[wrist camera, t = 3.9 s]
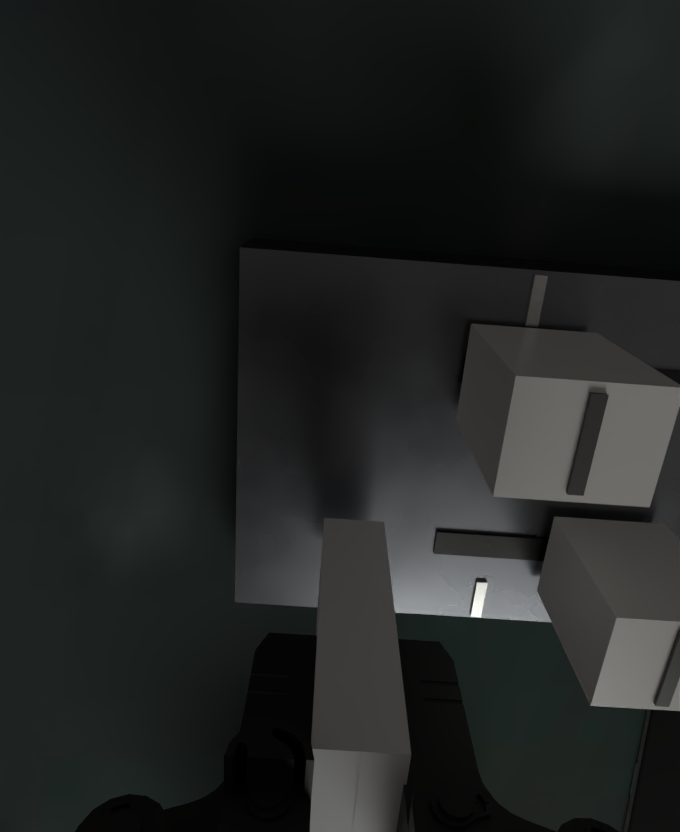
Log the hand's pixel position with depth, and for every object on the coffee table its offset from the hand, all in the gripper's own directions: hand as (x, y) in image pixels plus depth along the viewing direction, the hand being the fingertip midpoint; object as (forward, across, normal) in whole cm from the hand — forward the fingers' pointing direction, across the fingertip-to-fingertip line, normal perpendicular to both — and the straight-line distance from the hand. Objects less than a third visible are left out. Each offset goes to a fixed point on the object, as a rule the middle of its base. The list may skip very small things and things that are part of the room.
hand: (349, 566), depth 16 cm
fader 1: (+1, +4, +5) cm, 6 cm away
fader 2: (+1, +7, 0) cm, 7 cm away
